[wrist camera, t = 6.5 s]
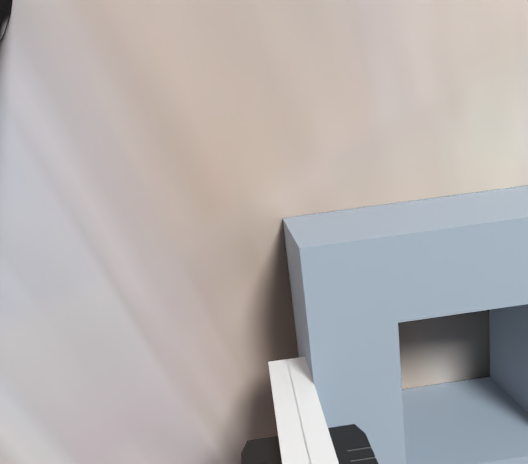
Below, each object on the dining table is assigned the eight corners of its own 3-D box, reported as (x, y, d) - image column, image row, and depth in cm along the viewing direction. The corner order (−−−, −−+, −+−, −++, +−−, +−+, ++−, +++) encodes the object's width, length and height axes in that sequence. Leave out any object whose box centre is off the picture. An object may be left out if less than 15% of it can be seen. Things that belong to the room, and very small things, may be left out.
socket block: (310, 458, 21) (332, 554, 17) (282, 218, 19) (299, 248, 14) (548, 421, 22) (638, 504, 17) (555, 181, 19) (665, 198, 14)
